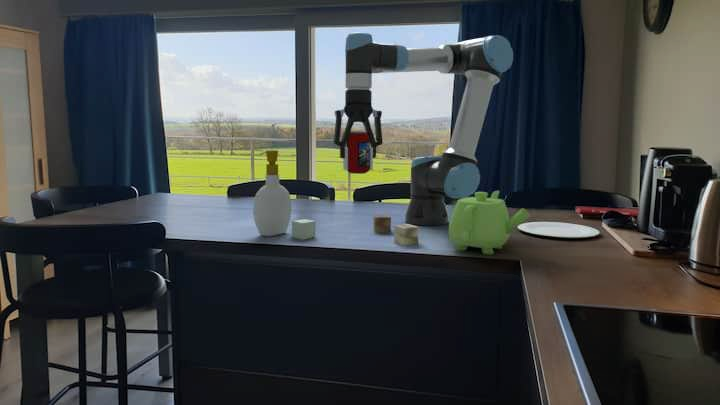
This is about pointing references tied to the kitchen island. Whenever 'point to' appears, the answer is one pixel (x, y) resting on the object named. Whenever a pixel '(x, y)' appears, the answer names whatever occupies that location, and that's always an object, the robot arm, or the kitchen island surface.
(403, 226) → the maple cube
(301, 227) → the sage painted cube
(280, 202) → the soap bottle
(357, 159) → the beverage can
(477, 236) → the teapot
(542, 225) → the plate
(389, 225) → the walnut cube
